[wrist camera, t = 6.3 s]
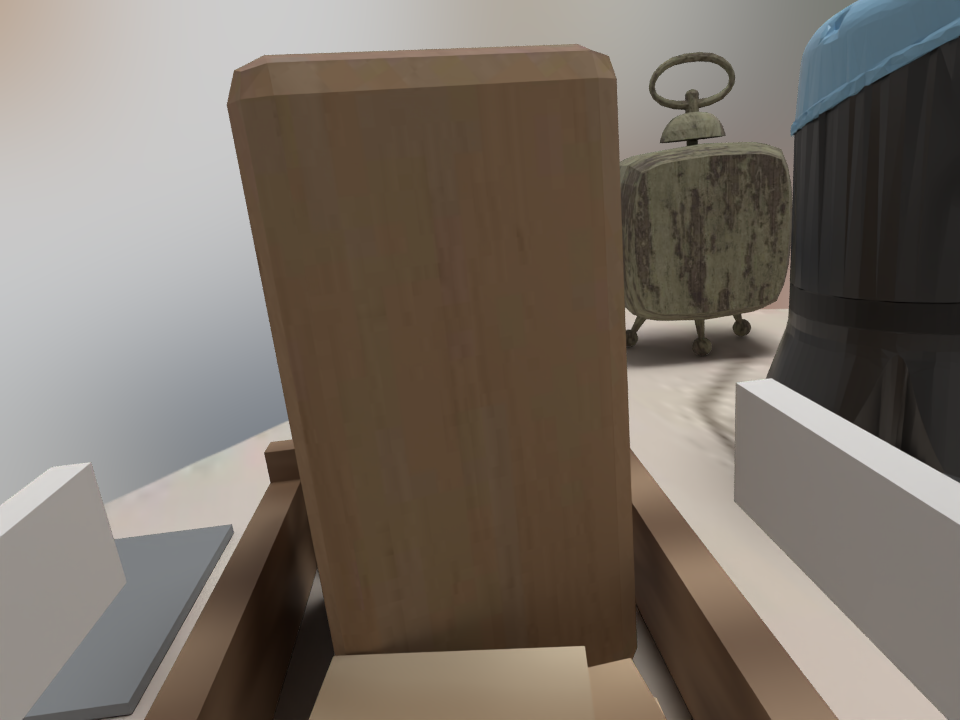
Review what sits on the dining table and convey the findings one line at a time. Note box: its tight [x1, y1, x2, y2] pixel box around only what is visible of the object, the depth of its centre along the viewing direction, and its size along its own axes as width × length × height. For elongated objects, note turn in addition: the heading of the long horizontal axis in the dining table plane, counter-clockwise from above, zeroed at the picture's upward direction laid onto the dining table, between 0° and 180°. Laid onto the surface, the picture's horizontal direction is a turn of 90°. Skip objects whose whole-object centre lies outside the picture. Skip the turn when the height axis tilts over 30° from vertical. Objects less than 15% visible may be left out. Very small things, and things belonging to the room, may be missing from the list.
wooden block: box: [227, 44, 637, 667], centre depth 22 cm, size 10×10×20 cm
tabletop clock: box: [620, 52, 792, 356], centre depth 54 cm, size 14×9×25 cm, turn 89°
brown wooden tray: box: [144, 440, 839, 720], centre depth 22 cm, size 18×16×6 cm
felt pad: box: [22, 524, 234, 720], centre depth 27 cm, size 12×12×1 cm
